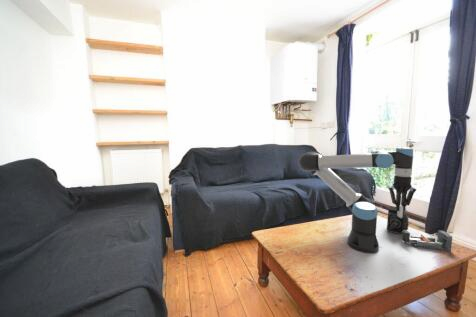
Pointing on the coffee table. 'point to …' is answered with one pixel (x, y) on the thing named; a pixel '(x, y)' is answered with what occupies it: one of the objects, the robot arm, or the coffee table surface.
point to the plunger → (408, 237)
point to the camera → (396, 221)
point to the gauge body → (442, 242)
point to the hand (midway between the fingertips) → (399, 216)
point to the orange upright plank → (424, 238)
